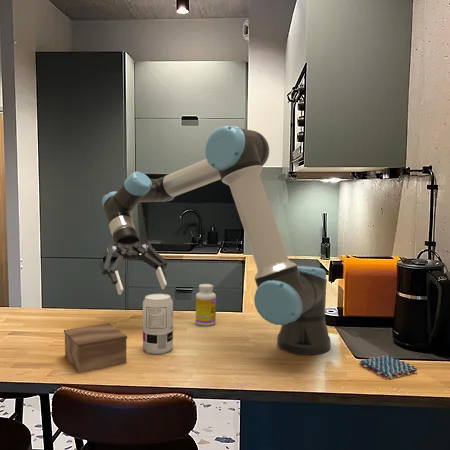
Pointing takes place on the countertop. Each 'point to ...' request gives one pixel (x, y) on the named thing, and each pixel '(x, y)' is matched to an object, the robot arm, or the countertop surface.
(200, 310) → the supplement bottle
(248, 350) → the countertop surface
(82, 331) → the walnut tea box
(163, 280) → the robot arm
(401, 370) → the woven mat
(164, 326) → the supplement can
